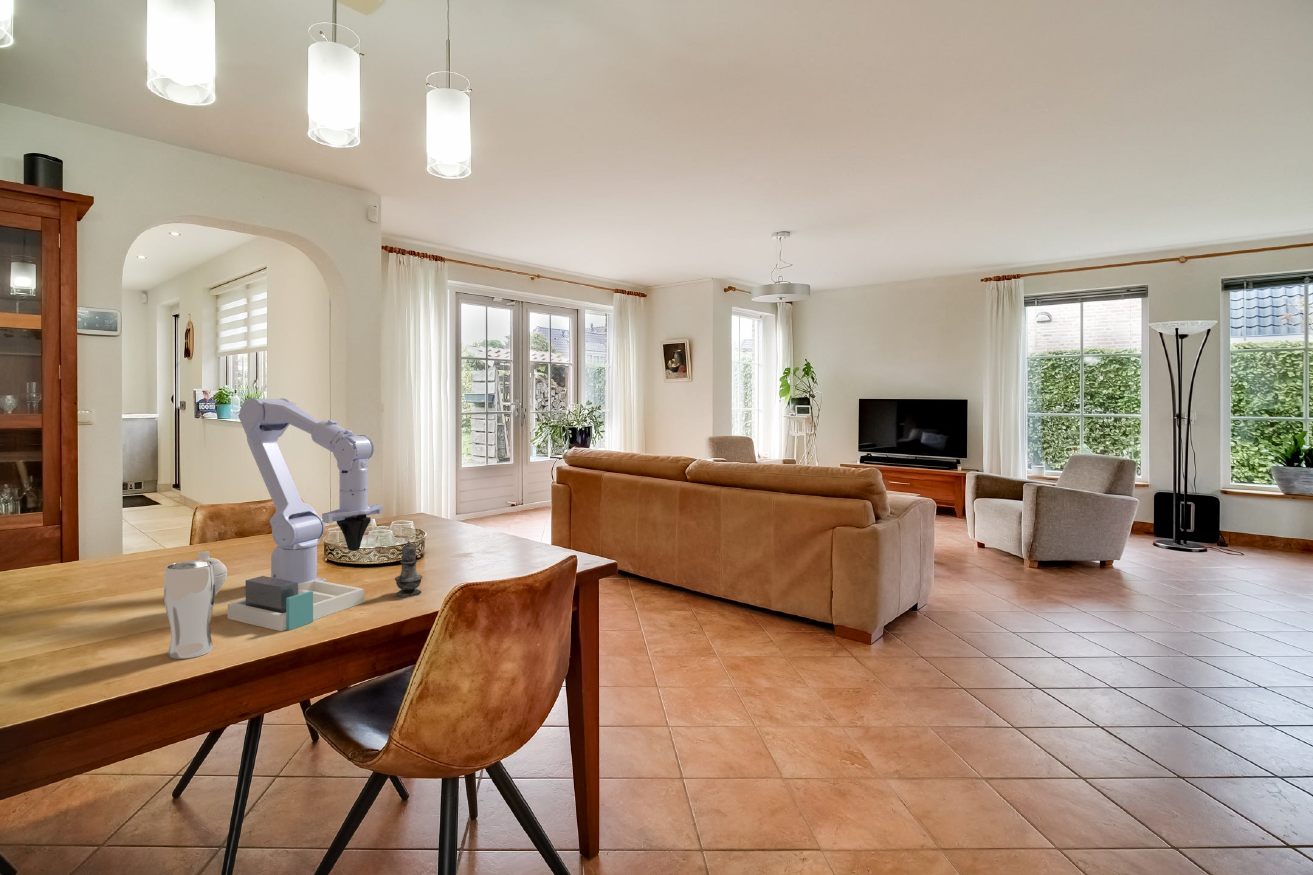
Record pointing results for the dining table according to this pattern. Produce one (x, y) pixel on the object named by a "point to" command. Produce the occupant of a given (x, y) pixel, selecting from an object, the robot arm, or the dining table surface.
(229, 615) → the divided tray
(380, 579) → the dining table surface
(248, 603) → the dark grey block
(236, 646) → the dining table surface
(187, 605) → the beer glass
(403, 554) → the dark grey stone ornament
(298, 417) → the robot arm
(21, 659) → the dining table surface
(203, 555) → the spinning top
